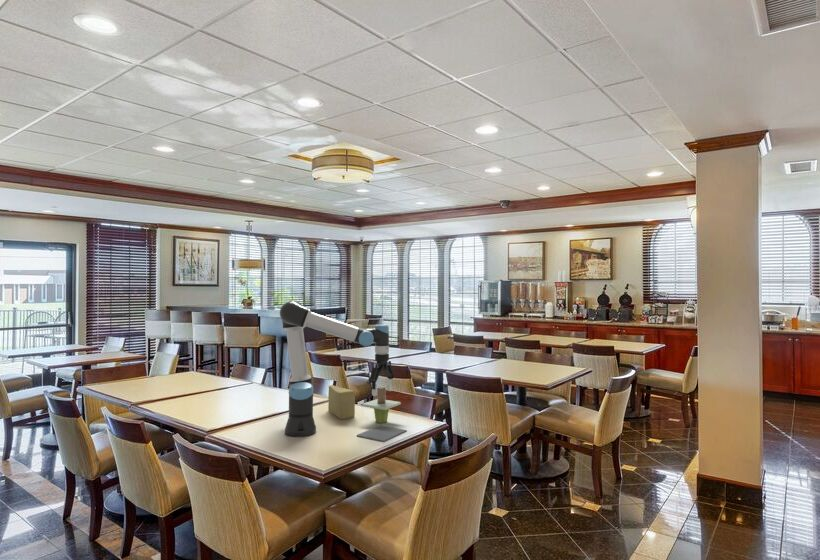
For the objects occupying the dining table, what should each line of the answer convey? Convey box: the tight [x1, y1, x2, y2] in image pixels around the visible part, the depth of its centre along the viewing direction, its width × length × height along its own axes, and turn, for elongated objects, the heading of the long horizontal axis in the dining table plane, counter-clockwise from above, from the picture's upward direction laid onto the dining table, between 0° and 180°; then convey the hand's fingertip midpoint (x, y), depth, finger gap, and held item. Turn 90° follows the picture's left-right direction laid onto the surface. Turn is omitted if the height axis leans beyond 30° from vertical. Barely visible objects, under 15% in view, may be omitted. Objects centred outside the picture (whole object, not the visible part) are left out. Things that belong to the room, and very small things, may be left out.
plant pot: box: [373, 408, 390, 424], centre depth 254 cm, size 9×9×9 cm
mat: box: [356, 424, 408, 443], centre depth 232 cm, size 20×16×1 cm
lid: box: [361, 386, 402, 410], centre depth 254 cm, size 15×15×9 cm
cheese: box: [327, 384, 356, 420], centre depth 269 cm, size 22×10×15 cm, turn 36°
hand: (381, 393), depth 254 cm, fingers open, 13 cm apart
